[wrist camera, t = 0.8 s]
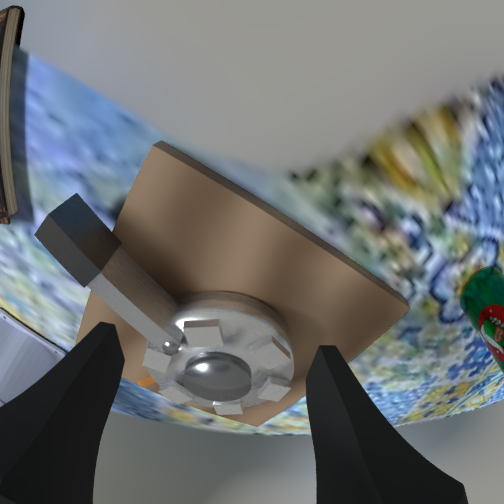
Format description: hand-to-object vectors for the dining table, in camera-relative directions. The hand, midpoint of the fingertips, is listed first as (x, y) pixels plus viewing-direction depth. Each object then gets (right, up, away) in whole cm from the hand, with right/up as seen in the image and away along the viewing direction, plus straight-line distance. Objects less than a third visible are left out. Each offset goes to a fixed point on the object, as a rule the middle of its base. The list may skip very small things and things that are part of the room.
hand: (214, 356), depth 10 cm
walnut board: (-1, -2, +12) cm, 12 cm away
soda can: (+21, +1, +11) cm, 24 cm away
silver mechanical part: (-4, 0, +9) cm, 10 cm away
